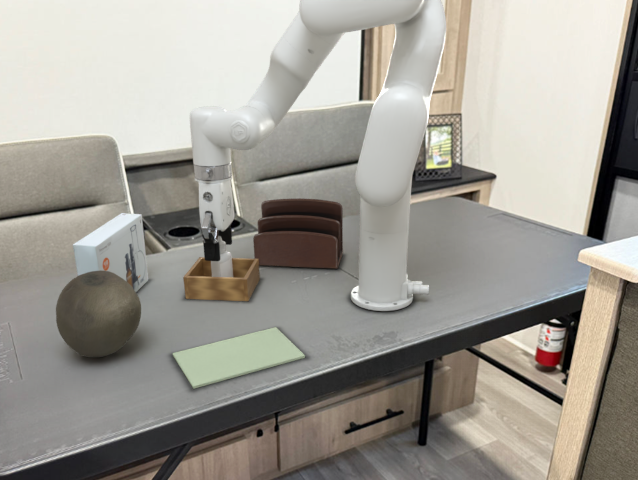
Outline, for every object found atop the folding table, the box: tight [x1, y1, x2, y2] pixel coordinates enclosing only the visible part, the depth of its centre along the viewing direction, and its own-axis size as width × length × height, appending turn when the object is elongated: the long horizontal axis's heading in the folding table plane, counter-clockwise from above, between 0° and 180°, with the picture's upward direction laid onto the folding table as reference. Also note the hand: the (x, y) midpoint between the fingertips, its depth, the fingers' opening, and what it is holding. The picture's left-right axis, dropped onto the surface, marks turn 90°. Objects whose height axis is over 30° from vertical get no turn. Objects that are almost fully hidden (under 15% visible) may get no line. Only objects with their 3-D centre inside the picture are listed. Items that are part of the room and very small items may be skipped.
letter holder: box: [252, 198, 344, 270], centre depth 142 cm, size 10×20×14 cm, turn 78°
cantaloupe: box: [55, 270, 142, 358], centre depth 105 cm, size 14×14×15 cm
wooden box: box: [182, 256, 261, 302], centre depth 130 cm, size 14×12×5 cm
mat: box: [172, 326, 306, 390], centre depth 105 cm, size 20×12×1 cm, turn 116°
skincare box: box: [72, 212, 150, 293], centre depth 125 cm, size 21×5×16 cm, turn 168°
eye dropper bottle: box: [211, 236, 233, 277], centre depth 129 cm, size 4×6×12 cm
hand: (218, 252), depth 128 cm, fingers open, 9 cm apart
